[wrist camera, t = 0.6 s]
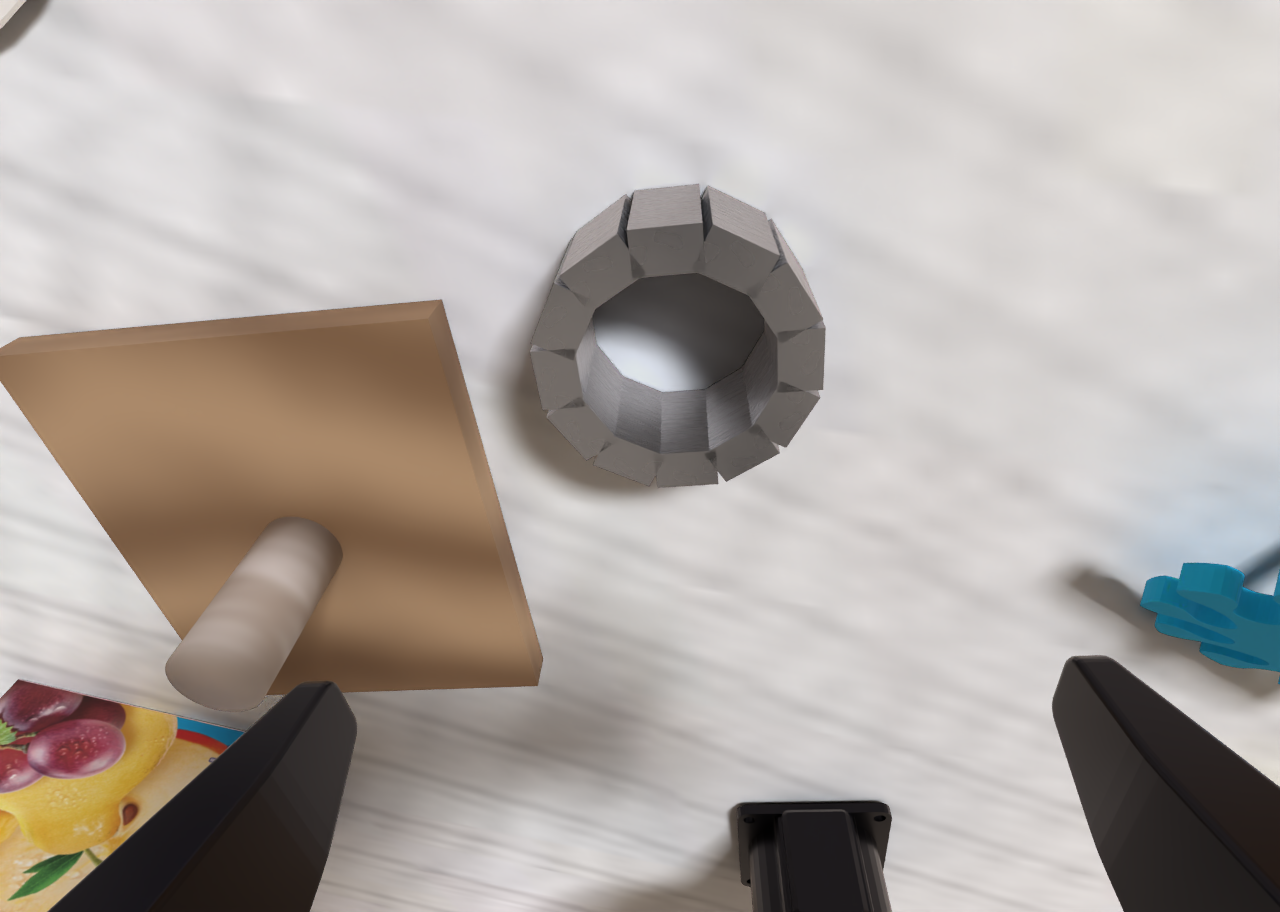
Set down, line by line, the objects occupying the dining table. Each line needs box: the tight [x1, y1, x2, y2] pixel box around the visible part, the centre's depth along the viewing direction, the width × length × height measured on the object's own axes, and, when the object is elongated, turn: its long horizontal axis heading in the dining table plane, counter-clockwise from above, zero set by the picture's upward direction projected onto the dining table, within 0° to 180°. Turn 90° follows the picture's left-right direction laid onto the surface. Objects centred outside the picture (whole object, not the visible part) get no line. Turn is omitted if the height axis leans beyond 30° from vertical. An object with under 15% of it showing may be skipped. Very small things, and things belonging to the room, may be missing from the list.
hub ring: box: [530, 184, 825, 488], centre depth 17 cm, size 6×6×3 cm
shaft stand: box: [0, 300, 543, 712], centre depth 20 cm, size 14×12×6 cm
